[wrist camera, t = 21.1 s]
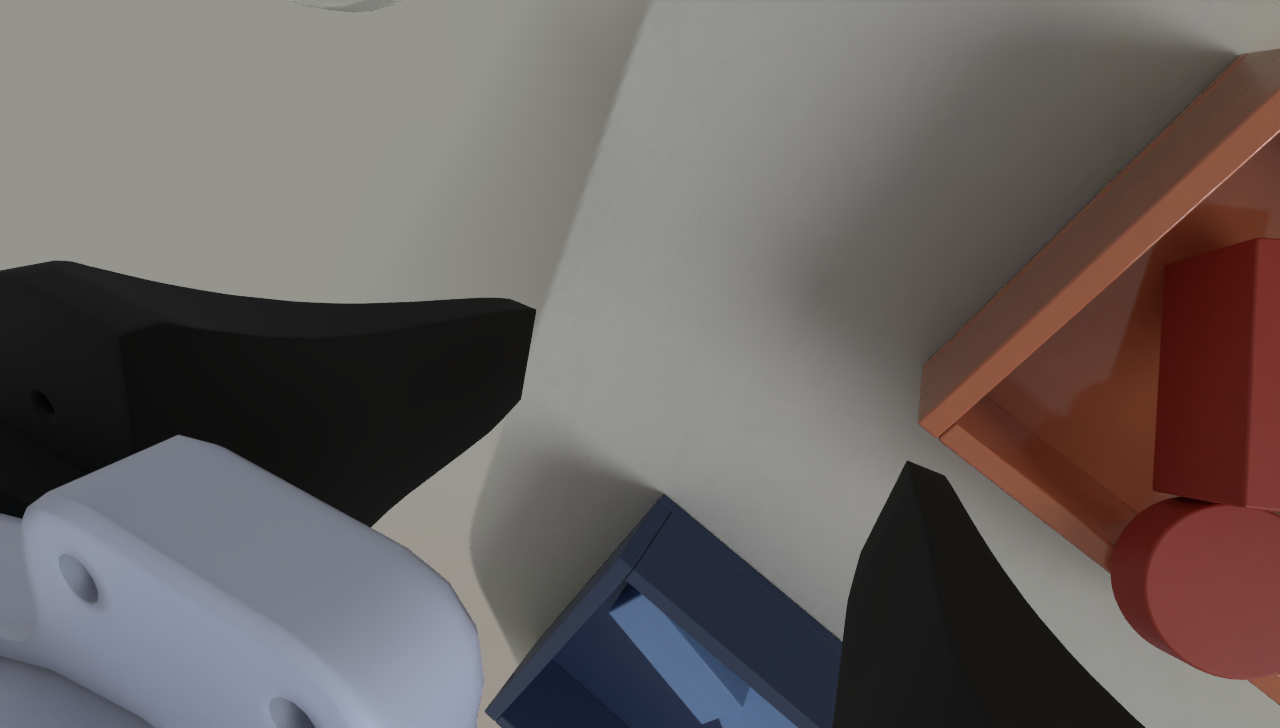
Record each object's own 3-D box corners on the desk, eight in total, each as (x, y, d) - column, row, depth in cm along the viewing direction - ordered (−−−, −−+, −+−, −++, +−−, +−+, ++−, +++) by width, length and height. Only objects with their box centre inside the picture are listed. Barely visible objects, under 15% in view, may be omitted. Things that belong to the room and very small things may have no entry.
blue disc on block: (622, 576, 26) (592, 620, 24) (687, 538, 24) (661, 582, 22) (766, 747, 26) (749, 807, 24) (841, 723, 24) (830, 786, 22)
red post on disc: (1126, 261, 16) (1212, 233, 13) (1294, 274, 15) (1416, 247, 13) (1104, 647, 15) (1188, 697, 12) (1276, 668, 15) (1400, 725, 12)
